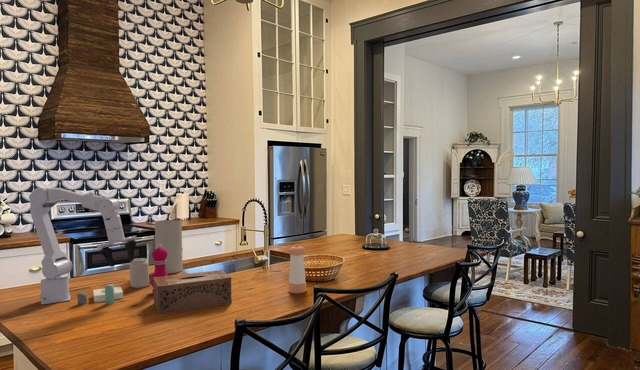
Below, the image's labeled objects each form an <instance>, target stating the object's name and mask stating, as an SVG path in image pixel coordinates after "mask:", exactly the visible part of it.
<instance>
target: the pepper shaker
mask: <svg viewBox="0 0 640 370" xmlns="http://www.w3.org/2000/svg"><path fill="white" fill-rule="evenodd" d="M287 252H288V254H289V256H290V257H289V258H290V260H289V261H290V263H289V264H290V266H289V271H288V277H289V279H288V280H289V281H288V292H289V293H291V294H303V293H305V292H306V291H307V282H306V269H305V264H304V263H305V262H304V261H305V260H304V259H305V258H304V257H305V256H304V255H305V254H306V248H305V247H303V246H302V245H299V244H298V243H296V244H295V245H293V246H291V247H289V249H288V251H287Z"/></svg>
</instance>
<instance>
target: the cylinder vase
mask: <svg viewBox="0 0 640 370" xmlns="http://www.w3.org/2000/svg"><path fill="white" fill-rule="evenodd" d="M182 222H183V221H182V220H176V219H175V220H173V219H171V220H158V221H155V222H154V232H155V233H154V235H155V249H157V248H158V247H157V246H158V245H159V244H161V245H162V248H164V249H166V251H167V253H168V255H167V258H166V262H167V263H166V264H165V268H166V272H167V274H168V275H170V274H171V275H172V274H177V273H178V274H179V273H180V272H182V271H183V269H184V268H183V231H182V230H183V227H182V225H183V224H182Z"/></svg>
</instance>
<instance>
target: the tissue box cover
mask: <svg viewBox="0 0 640 370" xmlns="http://www.w3.org/2000/svg"><path fill="white" fill-rule="evenodd" d="M153 280H154V288H153V289H154V295H153V304H154V307H155V309H156V312H157V315H162V314H168V313H169V314H170V313H175V312H182V311H183V312H184V311H189V310H196V309H202V308H203V307H204V308H210V307H217V306H222V305H228V304H232V302H233V301H232V277H231V276H230V275H228V273H226V272H225V271H224V270H222V269H217V270H209V271H199V272H191V273H182V274H175V275H172V274H171V275H168V276H163V277H154V278H153Z"/></svg>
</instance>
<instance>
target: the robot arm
mask: <svg viewBox="0 0 640 370" xmlns="http://www.w3.org/2000/svg"><path fill="white" fill-rule="evenodd" d="M28 199H29V202H30V206H29V207H30V210H29V213H30V217H31V219H32V222H33V225H34V229H35V231H36V233H37V236H38V241H39V242H40V245H41V249H42V251H43V254H44V256H43V259H42V260H41V265H42V266H41V267H42V268H41V273H42V275H43V277H44V278H42V279H41V280H40V295H39V296H40V297H39V298H40V304H41V305H47V304H48V305H49V304H54V303H55V304H56V303H61V302H69V301H71V294H70V282H69V281H70V279H69V277H70V272H71V271H72V270H73V263H72V261H71V260H70V259H69V257H68V254H67V253H65V252H64V251H62V250H61V247H60V244H59V242H58V239H57V235H56V232H55V230H54V227H53V224H52V222H51V221H52V220H51V217H50V214H49V213H50V211H51V209H52V208H53V207H55V206H56V205H57V204H58V203H59V202H60V201H61V200H65V201H70V202H75V203H79V204H80V205H81V207H83V208H85V209H89V210H93V211H97V212H99V213H100V214H101V216H102V219H103V222H104V227H105V230H106V236H107V241H108V242H104V243H101V244H96V248H97V250H98V251H99V252H100V254H101V255H103V257H104V258H105V260H106V262H107V263H108V265H109V267H110V268H112V267H115V262H114V257H113V248H112V247H116V246H120V245H123V244H124V247H125V249H126V251H127V256H128V260H129V262H132V261H133V260H134V259H135V257H134V255H135V249H136V246H137V241H138V239H137V235H132V236H127V237H125V234H124V229H123V228H124V227H123V224H122V219H121V216H120V211H119V210H120V209H121V202H120V201H119V199H117V198H115V197H110V198H108V197H107V196H106V195H102V196H101V195H99V194H96V193H95V192H92V191H91V192H87V193H84V194H82V193H80V192H79V193H78V192H76V191H71V190H68V189H65V188H61V187H57V186H52V187H36V188H34V189H33V190H32V191H31V192H30V194H29V196H28Z"/></svg>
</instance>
